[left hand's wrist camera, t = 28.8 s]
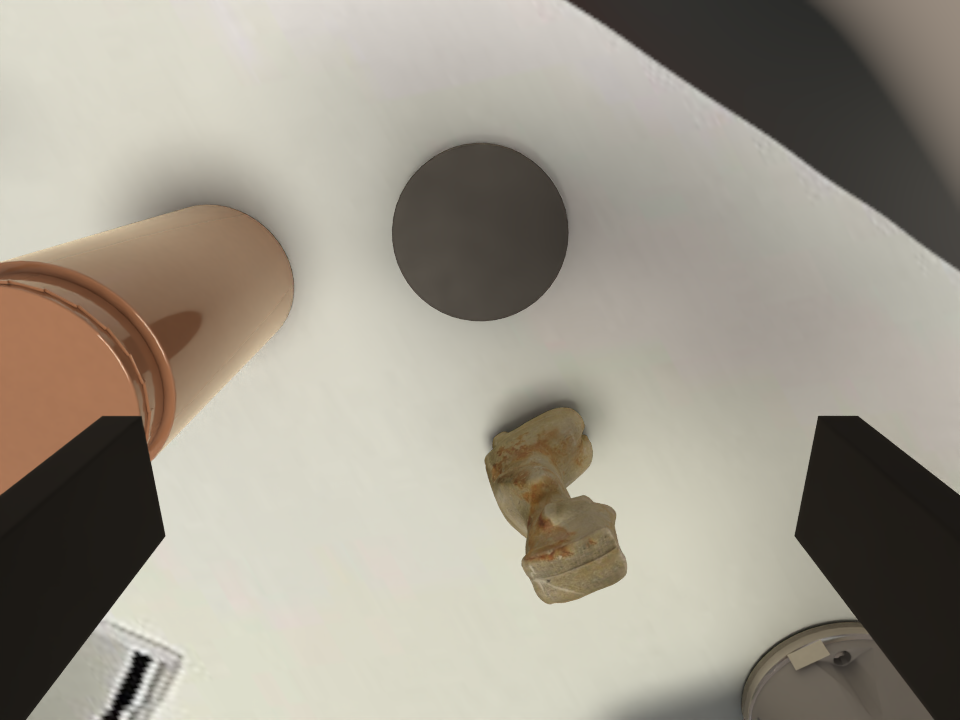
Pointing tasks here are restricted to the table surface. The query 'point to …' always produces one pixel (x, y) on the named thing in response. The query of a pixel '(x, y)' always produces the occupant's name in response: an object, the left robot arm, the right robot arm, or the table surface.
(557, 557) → the sculpture
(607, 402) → the table surface
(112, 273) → the jar
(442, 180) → the lid
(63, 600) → the left robot arm
